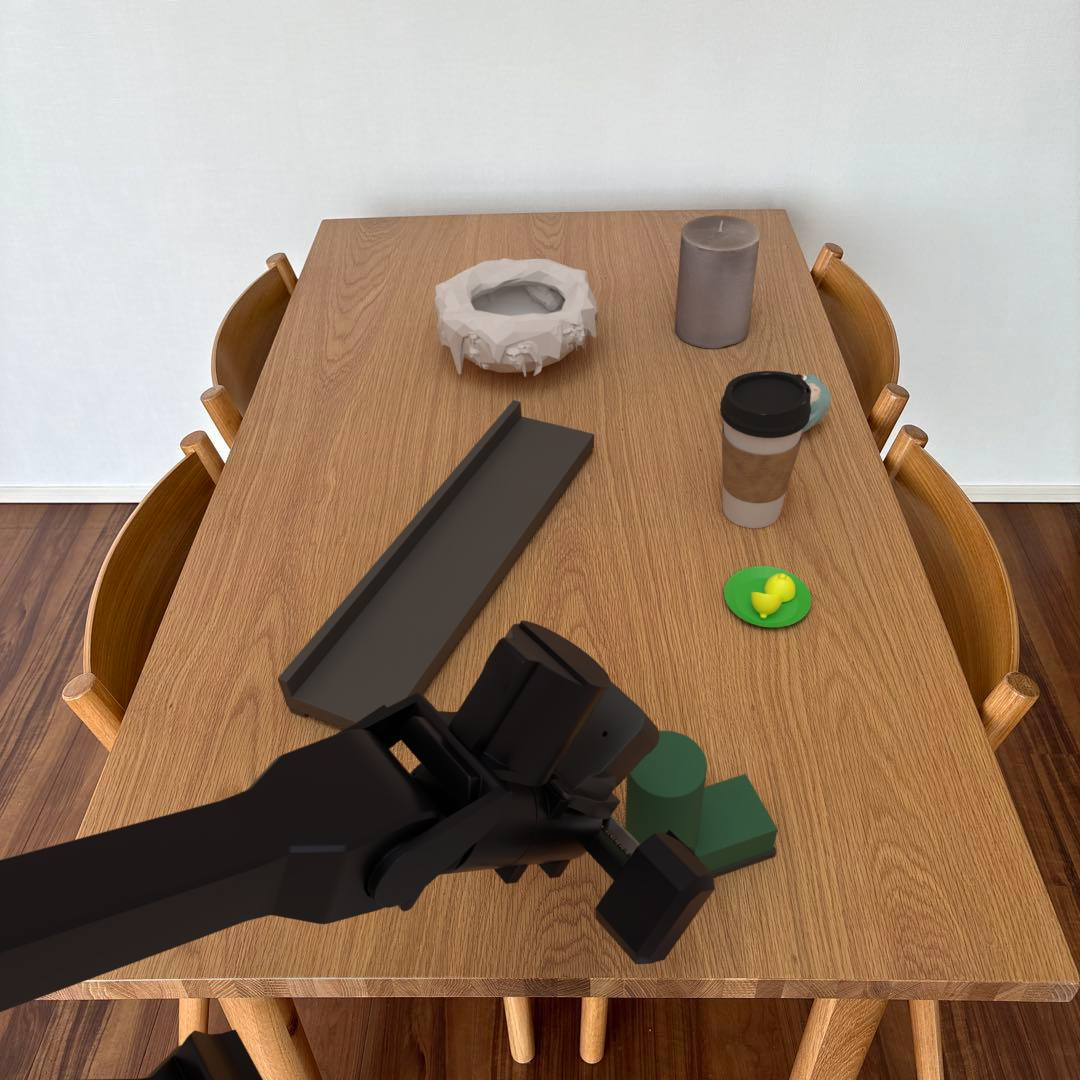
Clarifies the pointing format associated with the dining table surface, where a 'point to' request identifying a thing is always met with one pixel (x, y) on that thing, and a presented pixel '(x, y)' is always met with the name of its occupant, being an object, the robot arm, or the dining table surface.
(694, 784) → the green cylinder on block
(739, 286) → the pillar candle
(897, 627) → the dining table surface
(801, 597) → the green flat round tray
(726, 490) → the coffee cup
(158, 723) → the dining table surface
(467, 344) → the bowl
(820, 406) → the stuffed animal
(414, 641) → the shoe shelf
